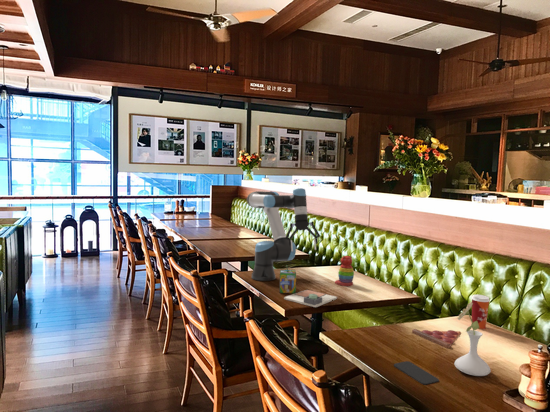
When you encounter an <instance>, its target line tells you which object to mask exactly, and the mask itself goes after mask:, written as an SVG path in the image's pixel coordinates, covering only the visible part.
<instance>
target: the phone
mask: <svg viewBox="0 0 550 412" xmlns="http://www.w3.org/2000/svg"><path fill="white" fill-rule="evenodd" d="M393 368H396V369H398V371H400V372H402V373H403V374H404V375H406V376H408V377H410V378H412V379H413V380H414V381H416V382H417V383H420V385H424V386H427V385H432V384H435V383H439V382H440V379H439V378H438V377H435V376H434V375H432V374H431V373H429V372H428V371H426V370H425V369H423V368H421V367H420V366H418V365H416V364H414V363H412V361H406V360H405V361H401V362H396V363H393Z"/></svg>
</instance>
